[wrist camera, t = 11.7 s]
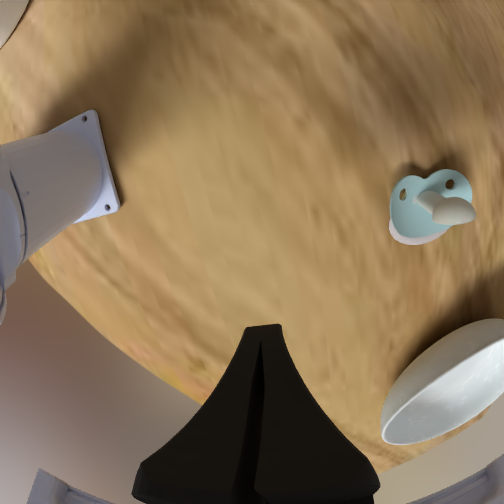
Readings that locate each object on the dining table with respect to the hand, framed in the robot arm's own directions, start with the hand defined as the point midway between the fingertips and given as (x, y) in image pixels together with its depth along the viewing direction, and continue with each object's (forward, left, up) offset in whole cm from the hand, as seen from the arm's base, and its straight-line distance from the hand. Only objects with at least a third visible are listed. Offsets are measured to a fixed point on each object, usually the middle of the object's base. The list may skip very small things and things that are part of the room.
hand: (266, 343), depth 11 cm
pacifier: (+12, +1, -11) cm, 16 cm away
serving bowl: (+20, -20, -10) cm, 30 cm away
